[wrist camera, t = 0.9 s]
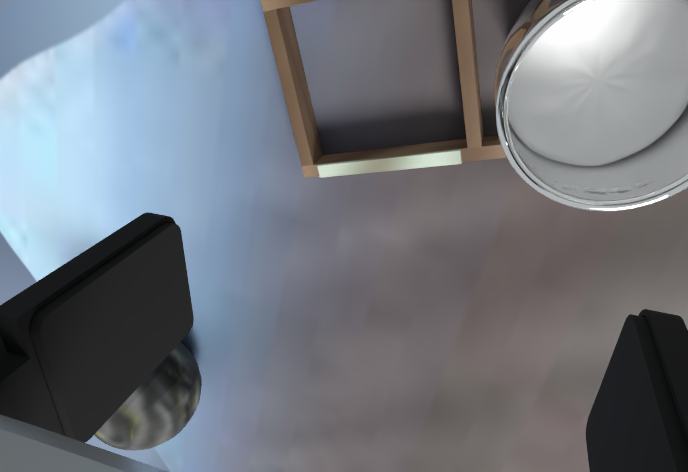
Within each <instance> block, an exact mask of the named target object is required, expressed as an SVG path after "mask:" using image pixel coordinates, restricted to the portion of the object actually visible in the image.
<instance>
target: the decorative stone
mask: <svg viewBox="0 0 688 472" xmlns="http://www.w3.org/2000/svg"><path fill="white" fill-rule="evenodd" d="M200 393H201V375H200V371H199V367H198V364H197V362H196V360H195V358H194V357H193V355H192V353H191V352H190V351H189V350H188V349H187V348H186V347H185V346H184V345H183V344H182V343H181V342H180V343H179V344H178V345H177V346H176V347H175V348H174V349H173V351H172V352H171V353H170V354H169V355H168V356H167V357H166V358H165V359H164V360H163V361H162V362H161V363H160V365H159V366H158V367H157V368H156V369H155V370H154V371H153V372H152V373H151V374H150V375H149V376H148V377H147V378H146V380H145V381H144V382H143V383H142V384H141V385H140V386H139V387H138V388H137V389H136V390H135V391H134V392H133V393H132V395H131V396H130V397H129V398H128V399H127V400H126V401H125V402H124V403H123V404H122V405H121V406H120V407H119V409H118V410H117V411H116V412H115V413H114V414H113V415H112V416H111V417H110V418H109V419H108V420H107V421H106V422H105V424H104V425H103V426H102V427H101V428H100V429H99V430H98V431H97V432H96V433H95V434H94V435H95V436H96V437H97V438H98V439H99V440H101V441H102V442H104V443H105V444H108V445H110V446H112V447H115V448H119V449H123V450H144V449H149V448H153V447H155V446H158V445H160V444H162V443H164V442H166V441H168V440H170V439H171V438H173V437H174V436H176V435H177V434H178V433H179V432H180V431H181V430H182V429H183V428H184V427H185V426H186V424H187V423H188V421H189V420H190V419H191V417H192V416H193V414H194V412H195V411H196V408H197V406H198V403H199V399H200Z"/></svg>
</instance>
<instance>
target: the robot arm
mask: <svg viewBox="0 0 688 472" xmlns="http://www.w3.org/2000/svg"><path fill="white" fill-rule="evenodd" d="M192 325H193V311H192V304H191V297H190V290H189V284H188V277H187V270H186V263H185V256H184V249H183V242H182V235H181V230H180V227H179V226H178V225H176V224H175V221H174V220H173V218H171V217H169V216H164V215H159V214H153V213H144V214H142V215H141V216H139V217H138V218H136V219H134V220H133V221H131V222H130V223H128V224H127V225H125V226H123V227H122V228H120V229H119V230H117V231H116V232H114V233H113V234H111V235H109V236H108V237H106V238H105V239H103V240H102V241H100V242H99V243H97V244H95V245H94V246H92V247H91V248H89V249H88V250H86V251H85V252H83V253H81V254H80V255H78V256H77V257H75V258H74V259H72V260H70V261H69V262H67V263H66V264H64V265H63V266H61V267H60V268H58V269H56V270H55V271H53V272H52V273H50V274H49V275H47V276H46V277H44V278H42V279H41V280H39V281H38V282H36V283H35V284H33V285H31V286H30V287H28V288H27V289H25V290H24V291H22V292H21V293H19V294H17V295H16V296H14V297H13V298H11V299H10V300H8V301H7V302H5V303H3V304H2V305H0V472H168V471H165V470H162V469H159V468H156V467H153V466H150V465H148V464H145V463H142V462H139V461H136V460H133V459H130V458H127V457H124V456H121V455H118V454H115V453H112V452H110V451H107V450H104V449H101V448H98V447H95V446H92V445H89V444H86V443H85V442H87V441H88V440H89V439H90V438H91V437H92V436H93V435H94V434H95V433H96V432H97V431H98V430H99V429H100V428H101V427H102V426H103V425H104V424H105V422H106V421H107V420H108V419H109V418H110V417H111V416H112V415H113V414H114V413H115V412H116V411H117V410H118V409H119V407H120V406H121V405H122V404H123V403H124V402H125V401H126V400H127V399H128V398H129V397H130V396H131V395H132V393H133V392H134V391H135V390H136V389H137V388H138V387H139V386H140V385H141V384H142V383H143V382H144V381H145V380H146V378H147V377H148V376H149V375H150V374H151V373H152V372H153V371H154V370H155V369H156V368H157V367H158V366H159V365H160V363H161V362H162V361H163V360H164V359H165V358H166V357H167V356H168V355H169V354H170V353H171V352H172V351H173V349H174V348H175V347H176V346H177V345H178V344H179V343H180V342H181V341H182V340H183V339H184V338H185V337H186V336H187V334H188V333H189V332H190V330H191V328H192ZM586 442H587V451H588V460H589V468H590V472H688V330H687V328H686V325H685V323H684V321H683V319H682V318H681V317H680V316H678V315H672V314H667V313H662V312H657V311H652V310H647V309H644V310H642V311H641V312H640V314H639V316H636V315H631V314H630V315H629V316H628V317H627V318H626V321H625V323H624V326H623V328H622V331H621V333H620V336H619V339H618V341H617V344H616V347H615V349H614V352H613V354H612V357H611V360H610V362H609V365H608V368H607V370H606V373H605V375H604V378H603V381H602V383H601V386H600V389H599V391H598V394H597V396H596V399H595V402H594V404H593V407H592V409H591V412H590V415H589V418H588V421H587V427H586Z"/></svg>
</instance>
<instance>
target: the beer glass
mask: <svg viewBox="0 0 688 472" xmlns="http://www.w3.org/2000/svg"><path fill="white" fill-rule="evenodd" d="M494 105H495V112H496V124H497V131H498V136H499V140H500V143H501V146H502V149H503V151H504V153H505V155H506V157H507V159H508V161H509V163H510V164H511V166H512V167H513V169H514V170H515V171H516V172H517V174H518V175H519V176H520V177H521V178H522V179H523V180H524V181H525V182H526V183H527V184H528V185H529V186H531V187H532V188H533V189H534V190H536V191H537V192H539V193H540V194H542V195H544V196H545V197H547V198H549V199H551V200H553V201H555V202H558V203H560V204H563V205H566V206H570V207H574V208H578V209H583V210H591V211H621V210H628V209H634V208H639V207H643V206H646V205H650V204H653V203H656V202H659V201H661V200H664V199H666V198H669V197H671V196H673V195H675V194H677V193H679V192H681V191H683V190H684V189H686V188H688V0H531V1H530V2H529V3H528V4H527V5H526V7H525V8H524V9H523V11H522V12H521V14H520V16H519V17H518V19H517V21H516V23H515V24H514V26H513V27H512V29H511V31H510V32H509V34H508V36H507V38H506V40H505V43H504V45H503V47H502V50H501V52H500V55H499V58H498V62H497V66H496V71H495V80H494Z"/></svg>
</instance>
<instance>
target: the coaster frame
mask: <svg viewBox="0 0 688 472" xmlns="http://www.w3.org/2000/svg"><path fill="white" fill-rule="evenodd" d="M311 1H315V0H261V4H262V8H263V12H264V16H265V20H266V24H267V28H268V32H269V36H270V40H271V44H272V48H273V52H274V56H275V60H276V64H277V68H278V72H279V76H280V80H281V84H282V88H283V92H284V96H285V100H286V104H287V108H288V112H289V116H290V120H291V124H292V128H293V132H294V136H295V140H296V144H297V148H298V152H299V156H300V160H301V164H302V168H303V172H304V176H305V178H306V177H316V176H320V178H321V177H331V176H341V175H351V174H362V173H372V172H382V171H392V170H402V169H413V168H423V167H433V166H443V165H453V164H461V163H462V162H467V161H477V160H487V159H497V158H507V157H506V155H505V153H504V151H503V149H502V146H501V143H500V140H499V136H498V135H493V136H485V137H484V133H483V122H482V111H481V100H480V89H479V78H478V67H477V56H476V44H475V33H474V22H473V11H472V0H452V5H453V15H454V25H455V34H456V44H457V53H458V63H459V72H460V82H461V91H462V101H463V110H464V120H465V130H466V139H459V140H450V141H441V142H433V143H424V144H415V145H407V146H398V147H389V148H381V149H372V150H363V151H354V152H346V153H337V154H328V155H323V152H322V147H321V143H320V139H319V134H318V130H317V126H316V121H315V117H314V112H313V108H312V104H311V99H310V95H309V91H308V86H307V82H306V77H305V73H304V69H303V64H302V60H301V56H300V51H299V47H298V42H297V38H296V34H295V29H294V25H293V21H292V16H291V12H290V8H289V7H290V6H294V5H298V4H303V3H307V2H311Z"/></svg>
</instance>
